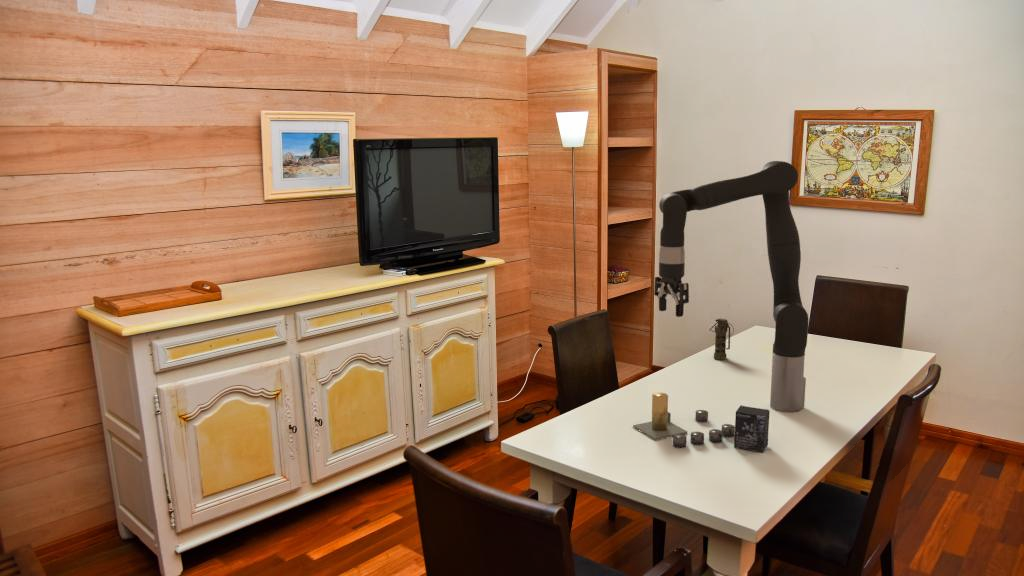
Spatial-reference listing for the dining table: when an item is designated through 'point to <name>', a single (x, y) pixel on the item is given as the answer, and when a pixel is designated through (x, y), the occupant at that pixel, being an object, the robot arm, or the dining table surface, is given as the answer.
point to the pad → (655, 435)
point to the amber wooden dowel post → (659, 411)
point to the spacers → (698, 437)
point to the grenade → (721, 339)
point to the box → (751, 428)
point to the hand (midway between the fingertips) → (670, 313)
